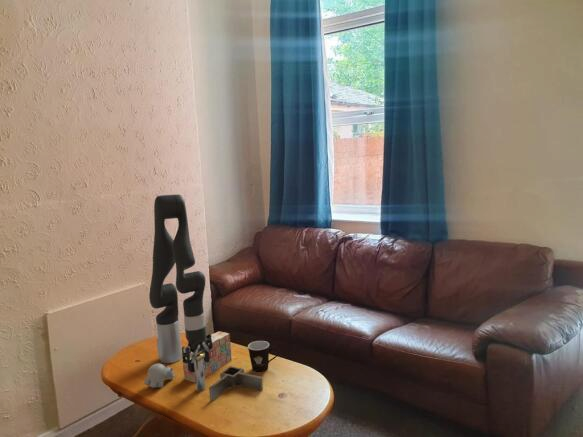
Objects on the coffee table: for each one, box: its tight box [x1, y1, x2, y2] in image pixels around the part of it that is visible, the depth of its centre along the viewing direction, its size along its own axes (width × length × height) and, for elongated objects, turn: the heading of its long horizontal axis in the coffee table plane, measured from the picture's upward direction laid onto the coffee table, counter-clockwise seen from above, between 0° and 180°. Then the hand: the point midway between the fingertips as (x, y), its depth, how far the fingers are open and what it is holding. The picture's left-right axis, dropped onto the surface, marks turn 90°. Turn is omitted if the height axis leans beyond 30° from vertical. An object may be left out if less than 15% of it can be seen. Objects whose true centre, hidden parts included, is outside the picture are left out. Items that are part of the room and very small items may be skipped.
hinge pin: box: [191, 351, 206, 392], centre depth 169 cm, size 5×5×14 cm
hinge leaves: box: [208, 365, 264, 402], centre depth 166 cm, size 16×16×5 cm
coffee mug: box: [247, 340, 280, 373], centre depth 182 cm, size 12×9×10 cm
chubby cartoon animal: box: [144, 363, 176, 389], centre depth 175 cm, size 7×12×8 cm, turn 139°
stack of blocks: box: [182, 330, 233, 384], centre depth 184 cm, size 21×6×12 cm, turn 146°
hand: (199, 366), depth 169 cm, fingers open, 8 cm apart
